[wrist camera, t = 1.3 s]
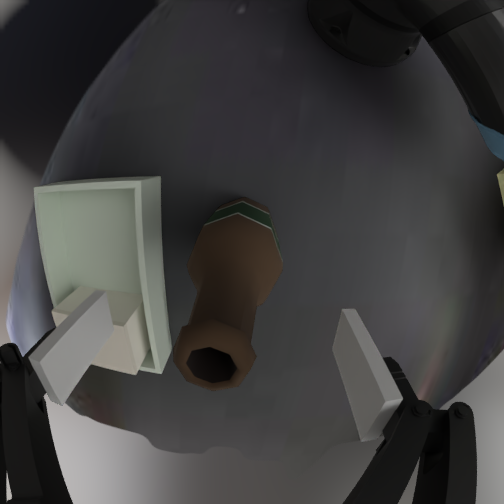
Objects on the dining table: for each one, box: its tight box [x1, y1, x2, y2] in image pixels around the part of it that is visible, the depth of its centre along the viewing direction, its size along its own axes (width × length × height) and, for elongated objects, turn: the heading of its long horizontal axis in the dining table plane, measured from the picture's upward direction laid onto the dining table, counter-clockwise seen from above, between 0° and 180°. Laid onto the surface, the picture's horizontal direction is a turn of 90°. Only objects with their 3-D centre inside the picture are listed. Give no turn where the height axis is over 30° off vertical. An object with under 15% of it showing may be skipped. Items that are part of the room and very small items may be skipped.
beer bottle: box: [173, 197, 283, 391], centre depth 22 cm, size 8×8×24 cm
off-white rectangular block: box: [51, 286, 151, 375], centre depth 33 cm, size 12×8×8 cm, turn 87°
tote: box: [34, 176, 172, 374], centre depth 33 cm, size 17×26×6 cm, turn 177°
